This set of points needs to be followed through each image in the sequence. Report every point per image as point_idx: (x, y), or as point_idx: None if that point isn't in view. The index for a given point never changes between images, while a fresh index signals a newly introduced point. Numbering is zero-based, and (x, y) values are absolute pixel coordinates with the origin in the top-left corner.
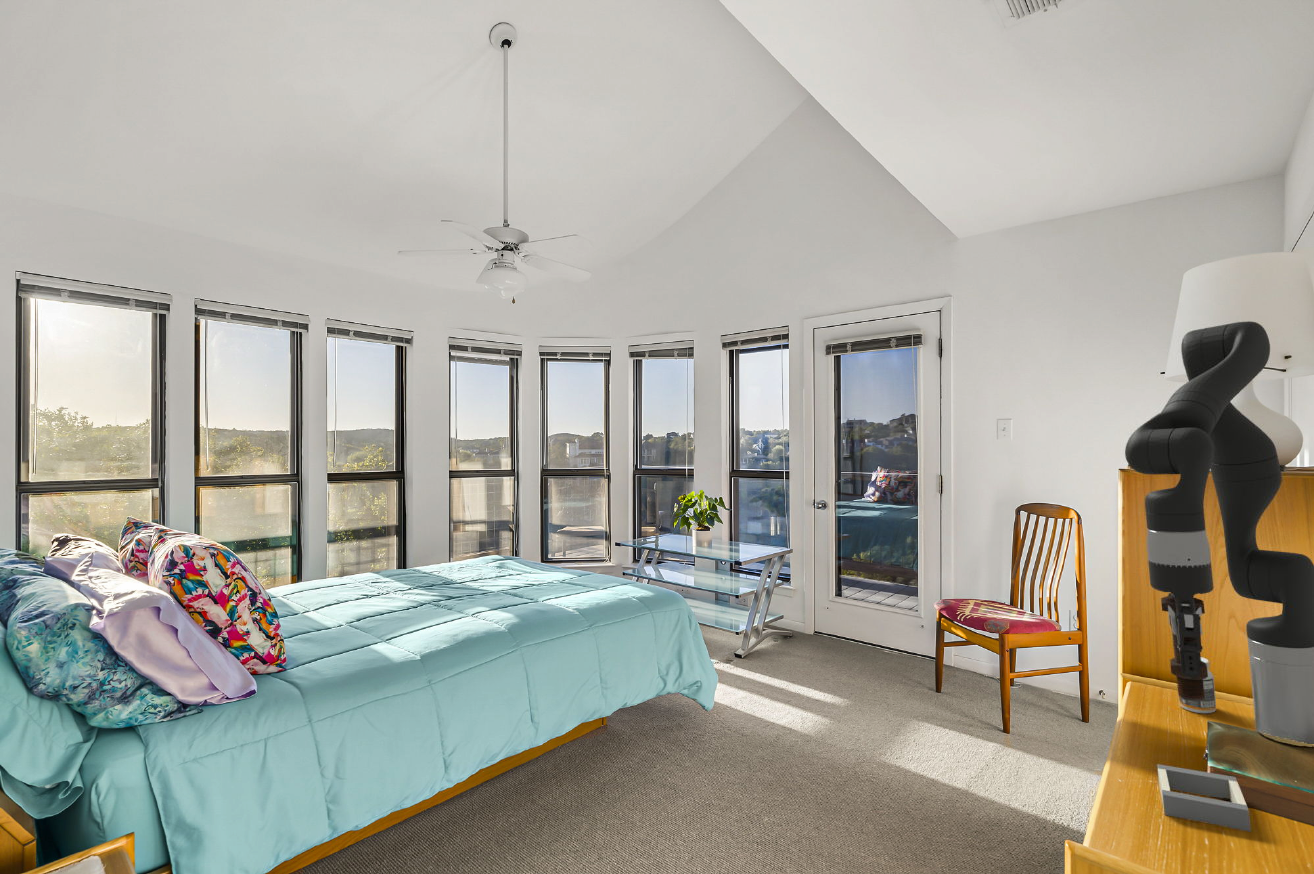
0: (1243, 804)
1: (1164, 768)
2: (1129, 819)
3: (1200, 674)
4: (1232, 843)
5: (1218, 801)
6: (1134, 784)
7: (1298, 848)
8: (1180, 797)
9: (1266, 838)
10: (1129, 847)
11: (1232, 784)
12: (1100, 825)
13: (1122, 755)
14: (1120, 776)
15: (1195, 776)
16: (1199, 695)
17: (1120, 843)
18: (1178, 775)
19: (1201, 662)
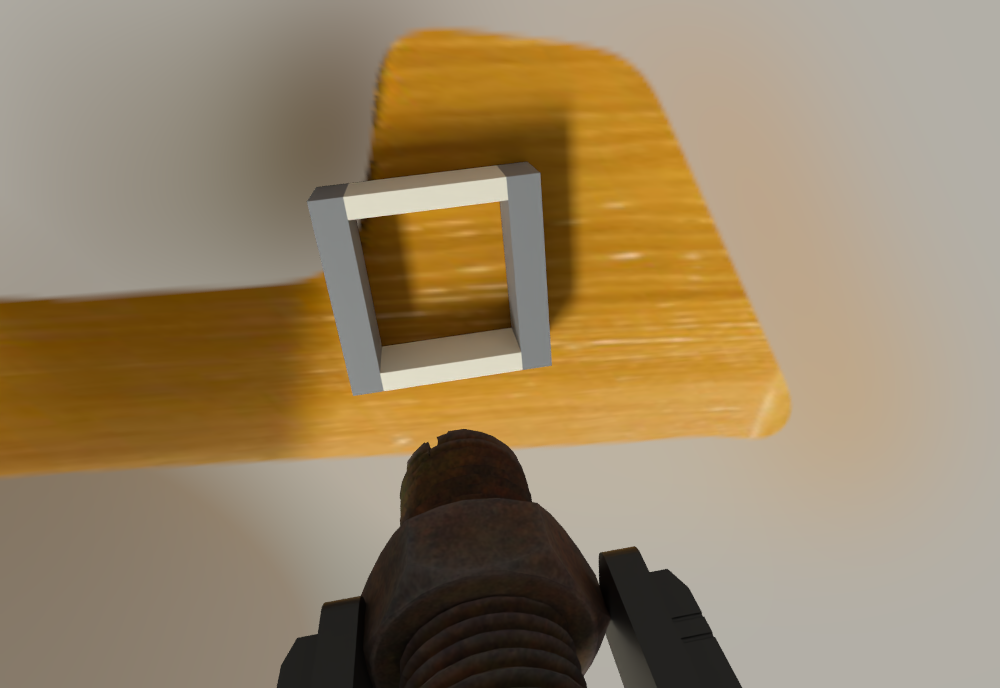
0: (505, 184)
1: (374, 376)
2: (601, 398)
3: (637, 554)
4: (611, 203)
5: (522, 245)
6: (407, 411)
7: (561, 53)
8: (547, 329)
9: (544, 126)
10: (722, 383)
11: (373, 209)
12: (656, 438)
13: (231, 457)
14: (378, 442)
15: (366, 302)
16: (509, 457)
17: (713, 398)
18: (374, 339)
19: (454, 598)
